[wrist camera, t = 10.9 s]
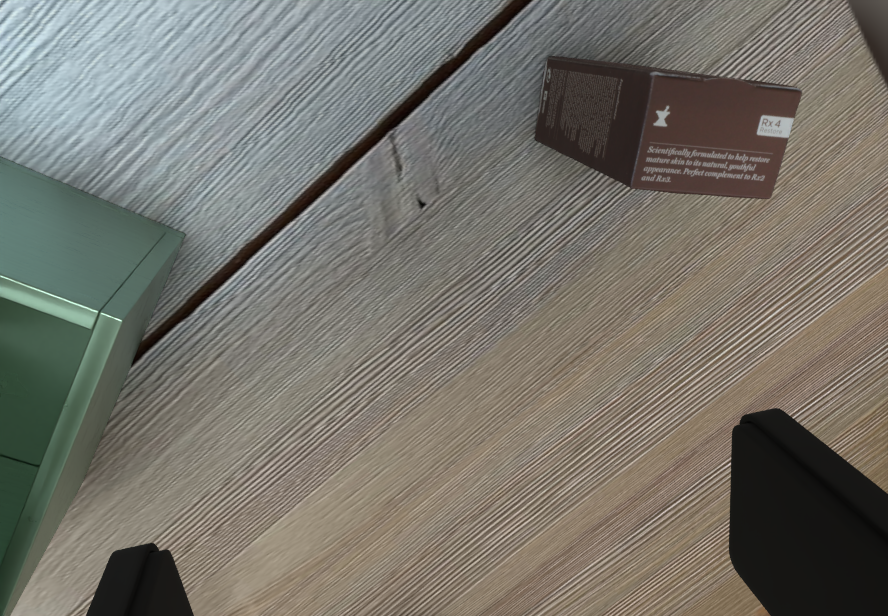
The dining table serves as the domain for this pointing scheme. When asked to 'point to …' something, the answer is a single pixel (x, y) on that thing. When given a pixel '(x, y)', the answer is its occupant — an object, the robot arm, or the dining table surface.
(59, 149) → the dining table surface
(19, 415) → the trash can
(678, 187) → the box
